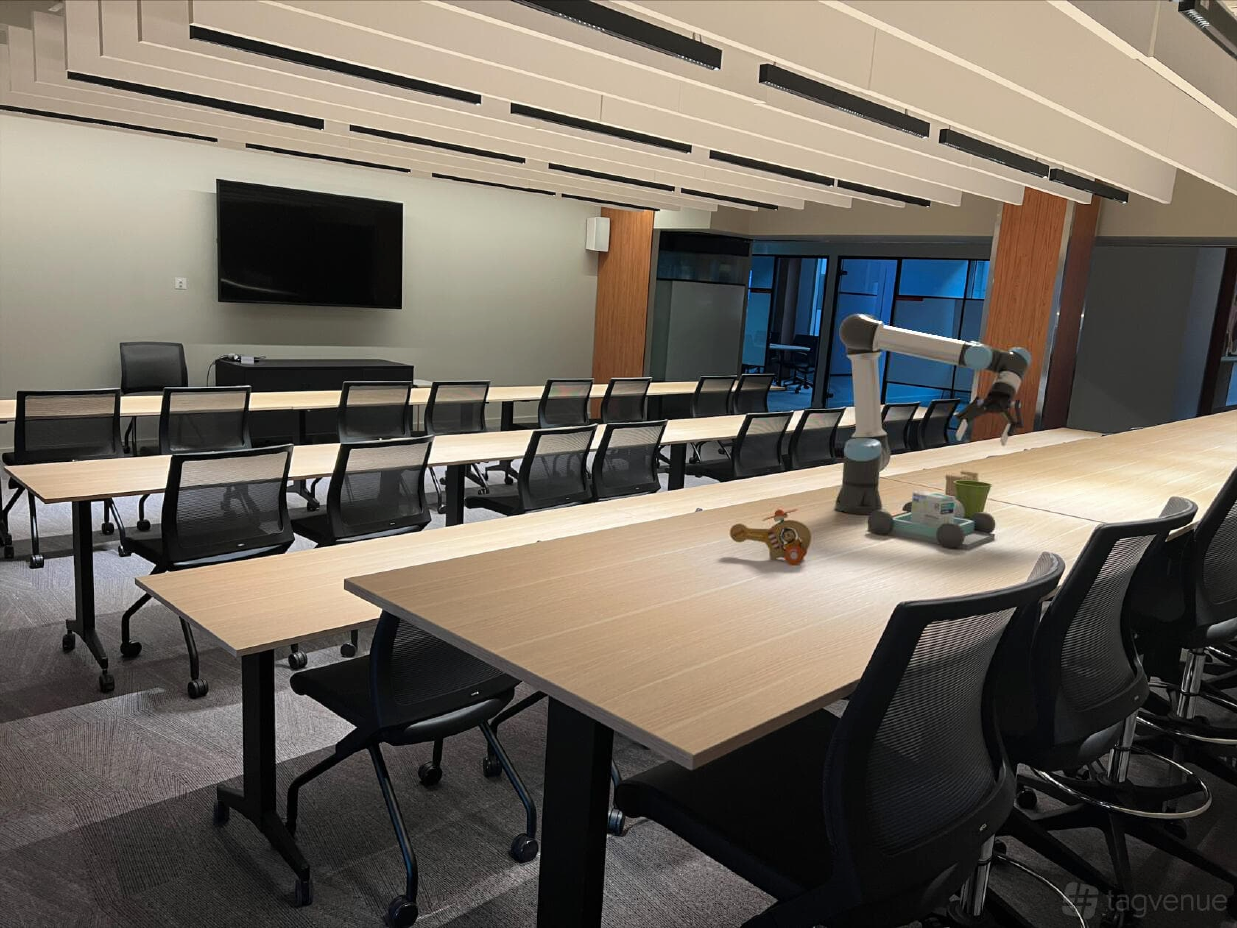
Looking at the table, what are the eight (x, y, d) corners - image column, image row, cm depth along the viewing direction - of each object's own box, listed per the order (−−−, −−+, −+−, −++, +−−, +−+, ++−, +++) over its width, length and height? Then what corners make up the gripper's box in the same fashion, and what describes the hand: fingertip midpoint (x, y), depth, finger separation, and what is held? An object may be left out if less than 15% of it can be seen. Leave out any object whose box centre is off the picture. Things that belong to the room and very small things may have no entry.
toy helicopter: (807, 566, 228) (810, 513, 226) (725, 557, 234) (728, 504, 232) (811, 559, 235) (814, 507, 233) (732, 550, 242) (735, 499, 240)
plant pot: (996, 518, 296) (1000, 484, 295) (974, 522, 290) (978, 487, 288) (965, 511, 306) (968, 478, 304) (943, 514, 299) (946, 481, 298)
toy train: (978, 499, 331) (980, 471, 329) (958, 504, 319) (961, 476, 317) (963, 496, 335) (965, 469, 333) (943, 502, 323) (945, 474, 321)
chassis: (863, 531, 270) (865, 508, 269) (901, 520, 288) (903, 498, 287) (963, 551, 250) (965, 526, 249) (997, 537, 268) (999, 514, 267)
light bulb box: (953, 532, 266) (957, 496, 264) (938, 534, 262) (942, 498, 261) (923, 525, 275) (926, 490, 273) (908, 527, 271) (911, 491, 269)
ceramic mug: (927, 523, 285) (929, 499, 284) (942, 520, 290) (944, 496, 289) (957, 530, 277) (960, 505, 276) (972, 527, 282) (975, 503, 281)
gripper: (962, 378, 290) (937, 427, 281) (1043, 383, 273) (1019, 436, 264) (967, 394, 294) (943, 443, 286) (1047, 400, 277) (1024, 453, 269)
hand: (979, 440), depth 275 cm, fingers open, 13 cm apart
